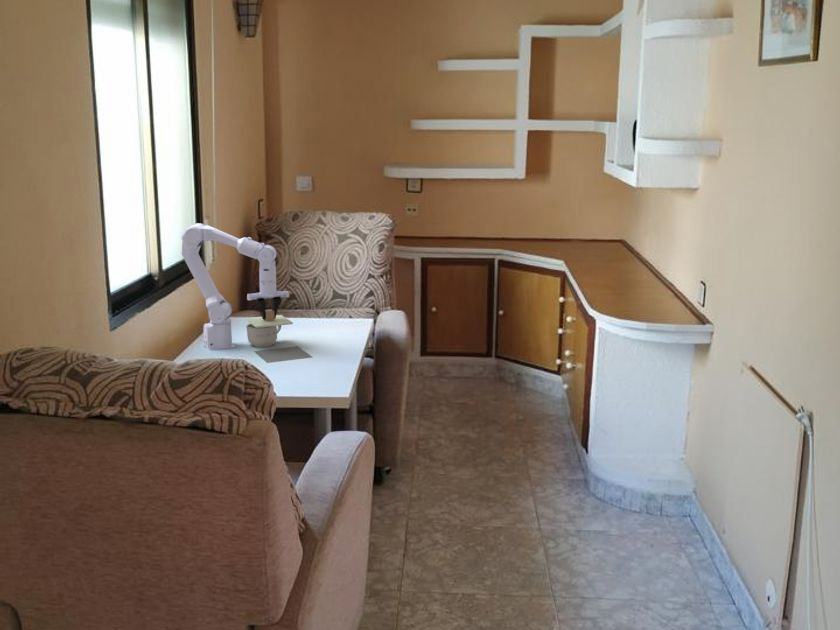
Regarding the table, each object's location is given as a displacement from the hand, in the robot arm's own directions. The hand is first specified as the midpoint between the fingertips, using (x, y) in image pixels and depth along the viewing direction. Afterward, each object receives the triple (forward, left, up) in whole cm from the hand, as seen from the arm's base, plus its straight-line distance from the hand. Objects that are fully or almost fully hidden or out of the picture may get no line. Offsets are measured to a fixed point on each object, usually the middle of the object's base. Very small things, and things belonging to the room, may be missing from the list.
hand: (268, 318), depth 297 cm
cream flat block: (0, 0, -1) cm, 1 cm away
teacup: (0, +4, -11) cm, 11 cm away
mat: (+1, -12, -10) cm, 16 cm away
